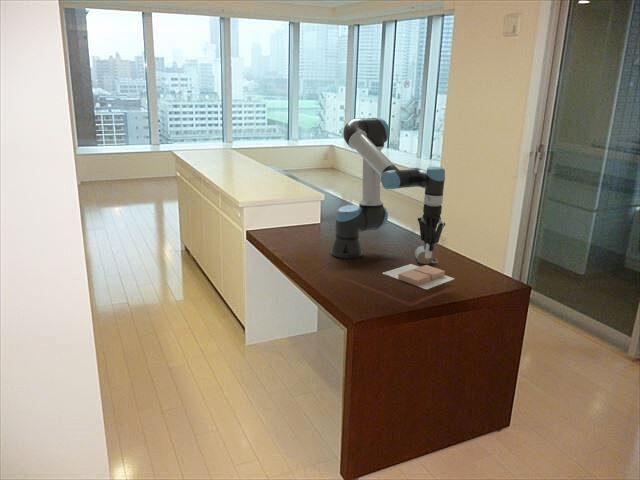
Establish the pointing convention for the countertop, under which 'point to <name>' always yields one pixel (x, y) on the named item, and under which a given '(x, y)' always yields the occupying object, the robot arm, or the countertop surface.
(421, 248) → the ceramic mug
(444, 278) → the stone board
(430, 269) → the tile
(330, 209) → the countertop surface
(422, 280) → the tile
